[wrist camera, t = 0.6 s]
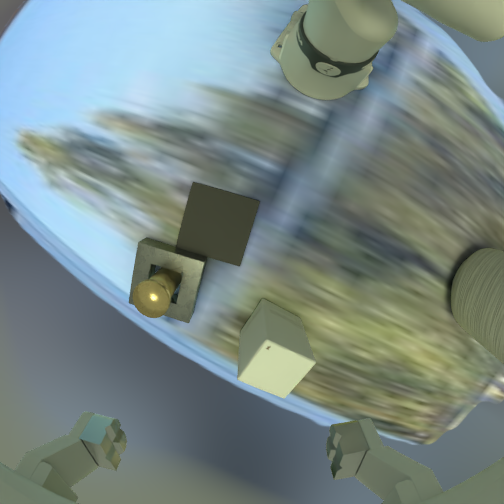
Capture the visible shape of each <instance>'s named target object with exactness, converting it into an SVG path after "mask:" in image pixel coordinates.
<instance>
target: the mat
mask: <svg viewBox="0 0 504 504" xmlns="http://www.w3.org/2000/svg"><path fill="white" fill-rule="evenodd" d="M259 203H260V201H257V200H254V199H251V198H247V197H244V196H241V195H237V194H234V193H231V192H227V191H224V190H220V189H217V188H213V187H210V186H206V185H202V184H199V183H195V182H193V183H192V187H191V191H190V194H189V198H188V201H187V205H186V209H185V213H184V217H183V220H182V224H181V228H180V232H179V236H178V240H177V245H176V248H180V249H183V250H186V251H190V252H193V253H196V254H199V255H203V256H206V257H210V258H213V259H216V260H220V261H223V262H226V263H230V264H233V265H237V266H240V264H241V261H242V258H243V255H244V251H245V248H246V245H247V242H248V238H249V235H250V232H251V229H252V225H253V222H254V219H255V216H256V213H257V209H258V206H259Z"/></svg>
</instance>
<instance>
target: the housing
mask: <svg viewBox="0 0 504 504" xmlns="http://www.w3.org/2000/svg"><path fill="white" fill-rule="evenodd" d="M206 261H207V257H206V256H203V255H199V254H196V253H193V252H190V251H186V250H183V249H180V248H176V247H175V246H172V245H169V244H165V243H162V242H159V241H156V240H152V239H149V238H145V239H143V240H142V241H140V242H139V243H138V248H137V253H136V259H135V265H134V271H133V277H132V283H131V290H130V297H129V303H130V304H133V305H134V302H133V291H134V289H135V287H136V286H137V285H138V284H139V283H140V282H142V281H143V280H146V279H150V278H151V277H152V276H153V275H154V274H155V270H156V265H157V266H161V267H164V268H167V269H170V270H173V271H176V272H180V273H183V277H182V281H181V285H180V290H179V294H178V295H177V294H173V295H172V297H171V304H170V306H169V308H168V310H167V311H166V313H165V314H164V315H165V316H168V317H171V318H174V319H177V320H180V321H183V322H186V323H189V322H190V319H191V317H192V315H193V312H194V308H195V304H196V300H197V296H198V292H199V288H200V284H201V280H202V276H203V272H204V269H205V265H206Z"/></svg>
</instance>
